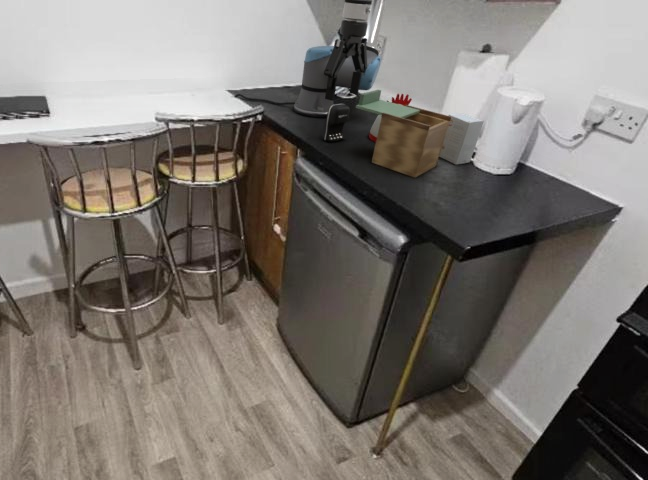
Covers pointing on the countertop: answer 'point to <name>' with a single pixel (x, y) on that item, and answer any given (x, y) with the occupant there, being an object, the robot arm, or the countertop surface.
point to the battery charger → (336, 122)
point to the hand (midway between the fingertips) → (341, 96)
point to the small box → (461, 138)
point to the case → (410, 141)
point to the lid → (383, 105)
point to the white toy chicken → (376, 124)
